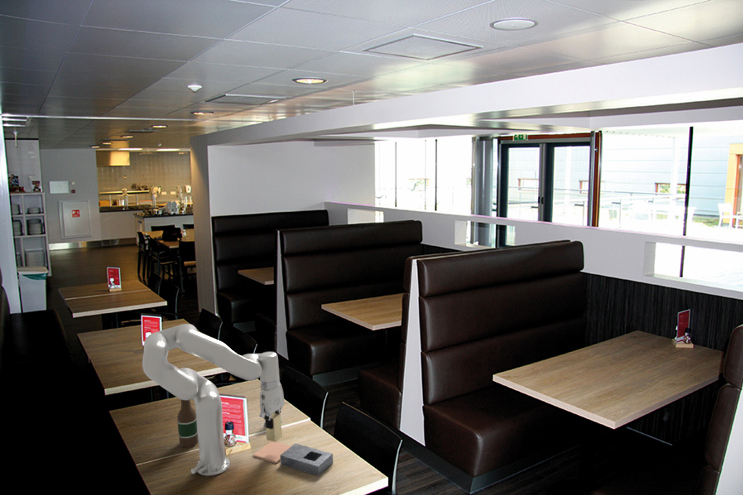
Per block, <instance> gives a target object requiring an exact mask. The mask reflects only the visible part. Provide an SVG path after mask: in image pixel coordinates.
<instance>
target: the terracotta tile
mask: <svg viewBox="0 0 743 495" xmlns="http://www.w3.org/2000/svg"><path fill="white" fill-rule="evenodd" d="M292 446H293V445H288V444H284V443H281V442H278V441H276V442H273V441H270V442H269V443H267V444H265V445H264V446H263V447H262V448H260V449H259V450H257V451H256V452H254V453H253V456H252V457H254V458H257V459H261V460H264V461H267V462H270V463H274V464H278V463H280V462H281V460H280V455H281V454H282V453H284V452H285V451H286V450H288V449H289V448H290V447H292Z"/></svg>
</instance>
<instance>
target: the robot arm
mask: <svg viewBox="0 0 743 495" xmlns="http://www.w3.org/2000/svg"><path fill="white" fill-rule="evenodd" d="M177 348H179V349H180V350H181V351H183V352H184V353H185V352H186V353H188V354H189V355H192V356H195V357H197V358H200V359H203V360H205V361H207V362H209V363H212V364H213V365H215V366H216V367H218V368H220V369H222V370H223V371H225V372H227V373H230V374H231V375H234V376H235V377H238V378H240V379H243V380H245V381H256V380H257V379H259V378H260V379H259V380H260V386H259V387H260V391H259V406H260V413H259V417H260V418H262V419H263V420H264V421H265V422H264V423H265V424H266V425H265V424H264V425H265V429H266V428H268V429H273V425H272V420H271V414H272V413H277V414H280V415H281V414H282V408H283V407H284V405H285V397H284V389H283V387H282V384H281V382H280V368H279V358H278V354H277V353H276V352H275V351H265V352H262V353H246V354H243V355H240V354H238V353H237V352H235V351H234V350H232V349H231V348H230V347H229V346H228V345H227V344H226V343H224V342H223V341H221V340H218V339H216V338H214V337H211V336H209V335H207V334H205V333H203V332H200V331H198V329H197V327H195V325H194V324H191V323H183V324H179V325H176V326H172V327H168V328H165V329H161V330H158V331H156V332H153V333H151V334H149V335H148V336H147V337H146V338H145V339H144V343H143V355H142V365H141V366H142V370H143V372H144V374H145V376H146V377H147V378H148V379H150V380H151V381H153V382H154V383H156V384H157V385H159V386H160V387H161V388H163V389H165V391H167V392H168V393H170V394H172V395H173V396H175V397H176V398H178V399H179V400H181V399H182V400H190V401H191V400H192V401H193V402H194V406H195V413H196V419H197V432H198V453H199V460H198V461H197V464H196V465H195V466H194V467H193V468H191V469H190V473H191V474H194V475H195V474H196V473H198V474H199V475H201V476H205V477H208V476H210V477H211V476H216V475H219V474H222V473H223V472H225V471H226V470H228V469H229V468H230V465H231V462H230V459H229V458H228V457H226V450H225V448H226V447H225V436H224V424H223V403H222V398H221V396H220V392H219V390H218V388H217V386H216V385H215V384H214V383H213V382H212V381H210V380H209V379H207V378H206V377H204V376H203V375H201V374H200V373H198V372H197V371H195V370H194V369H192V368H190V367H180V368H178V367H177V366H176V365H174V364H172V363H170V362H169V361H168V355H169V351H171V350H174V349H177ZM267 414H268V416H267Z"/></svg>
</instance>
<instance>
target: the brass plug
mask: <svg viewBox="0 0 743 495" xmlns="http://www.w3.org/2000/svg"><path fill="white" fill-rule="evenodd" d="M267 416H268V415H267ZM281 419H282V418H281V413H280V414H277V413H275V412H274V413H272V414H271V420H272V425H273V429H268V428H266V427H265V435H266V440H267V441H270V442H271V441H273V442H278V441H279V440H280V439H282V437H283V433H282V432H283V431H282V420H281ZM264 426H266V424H264Z"/></svg>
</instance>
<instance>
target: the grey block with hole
mask: <svg viewBox="0 0 743 495" xmlns="http://www.w3.org/2000/svg"><path fill="white" fill-rule="evenodd" d="M291 446H292V447H290V448H289V449H288V450H286V451H285V452H284V453H282V454H281V455H280V460H281V461H280V465H281V466H283V467H286V468H290V469H293V470H297V471H300V472H304V473H307V474H310V475H314V476H316V475H317V477H319V476H321V475H322V474H323V473H325V471H326V470H327V469H328V468H329V467H331V466H332V464H333V463H334V456H333V454H334V453H333V452H328V451H324V450H321V449H318V448H314V447H311V446H305V445H303V444H299V443H294V444H293V445H291Z"/></svg>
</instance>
